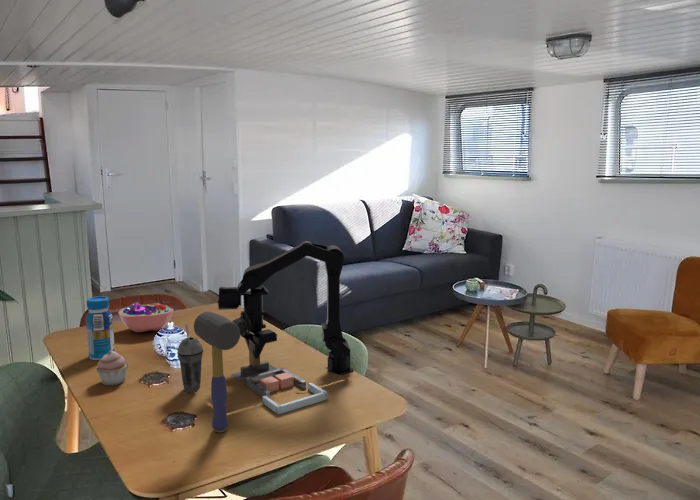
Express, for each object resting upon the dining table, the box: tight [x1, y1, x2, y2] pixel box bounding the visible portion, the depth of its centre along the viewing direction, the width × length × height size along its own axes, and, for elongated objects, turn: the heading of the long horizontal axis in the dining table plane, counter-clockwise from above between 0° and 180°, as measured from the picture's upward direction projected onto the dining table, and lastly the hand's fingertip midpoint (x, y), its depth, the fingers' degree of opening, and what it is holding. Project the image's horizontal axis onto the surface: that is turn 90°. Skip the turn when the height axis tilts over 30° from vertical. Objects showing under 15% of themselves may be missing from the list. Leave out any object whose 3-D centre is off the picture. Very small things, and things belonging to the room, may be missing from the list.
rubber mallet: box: [193, 311, 241, 433], centre depth 145 cm, size 12×8×30 cm, turn 39°
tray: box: [261, 382, 329, 415], centre depth 164 cm, size 16×8×2 cm, turn 127°
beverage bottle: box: [85, 295, 116, 361], centre depth 196 cm, size 8×8×20 cm
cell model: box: [117, 301, 174, 333], centre depth 223 cm, size 17×20×11 cm
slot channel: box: [244, 367, 307, 399], centre depth 173 cm, size 13×13×2 cm
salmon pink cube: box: [275, 372, 295, 390], centre depth 174 cm, size 4×4×4 cm
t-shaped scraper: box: [239, 338, 270, 376], centre depth 182 cm, size 9×2×11 cm, turn 127°
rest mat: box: [230, 364, 278, 382], centre depth 183 cm, size 14×6×1 cm, turn 127°
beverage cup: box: [177, 324, 204, 393], centre depth 170 cm, size 7×7×20 cm
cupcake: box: [95, 350, 130, 387], centre depth 176 cm, size 9×9×10 cm
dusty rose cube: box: [259, 376, 280, 393], centre depth 171 cm, size 4×4×4 cm
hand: (254, 357), depth 182 cm, fingers closed on t-shaped scraper, 2 cm apart
